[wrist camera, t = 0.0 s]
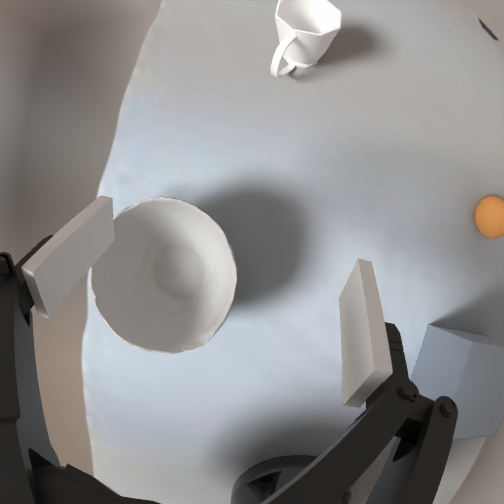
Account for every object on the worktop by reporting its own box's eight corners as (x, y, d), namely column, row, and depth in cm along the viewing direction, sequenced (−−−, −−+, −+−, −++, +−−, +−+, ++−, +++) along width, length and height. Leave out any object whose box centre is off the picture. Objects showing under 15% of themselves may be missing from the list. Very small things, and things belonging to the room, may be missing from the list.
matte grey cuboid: (458, 407, 30) (495, 434, 21) (400, 405, 30) (433, 440, 21) (485, 335, 30) (529, 350, 21) (428, 324, 30) (473, 342, 21)
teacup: (269, 267, 31) (272, 271, 23) (188, 356, 31) (167, 384, 23) (161, 172, 31) (133, 148, 23) (92, 260, 31) (49, 260, 23)
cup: (339, 52, 31) (354, 11, 23) (299, 104, 31) (309, 64, 23) (290, 28, 31) (295, -15, 23) (246, 76, 31) (242, 33, 23)
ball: (491, 243, 30) (516, 242, 25) (464, 233, 30) (490, 230, 25) (494, 206, 30) (519, 201, 25) (468, 194, 30) (493, 186, 25)
